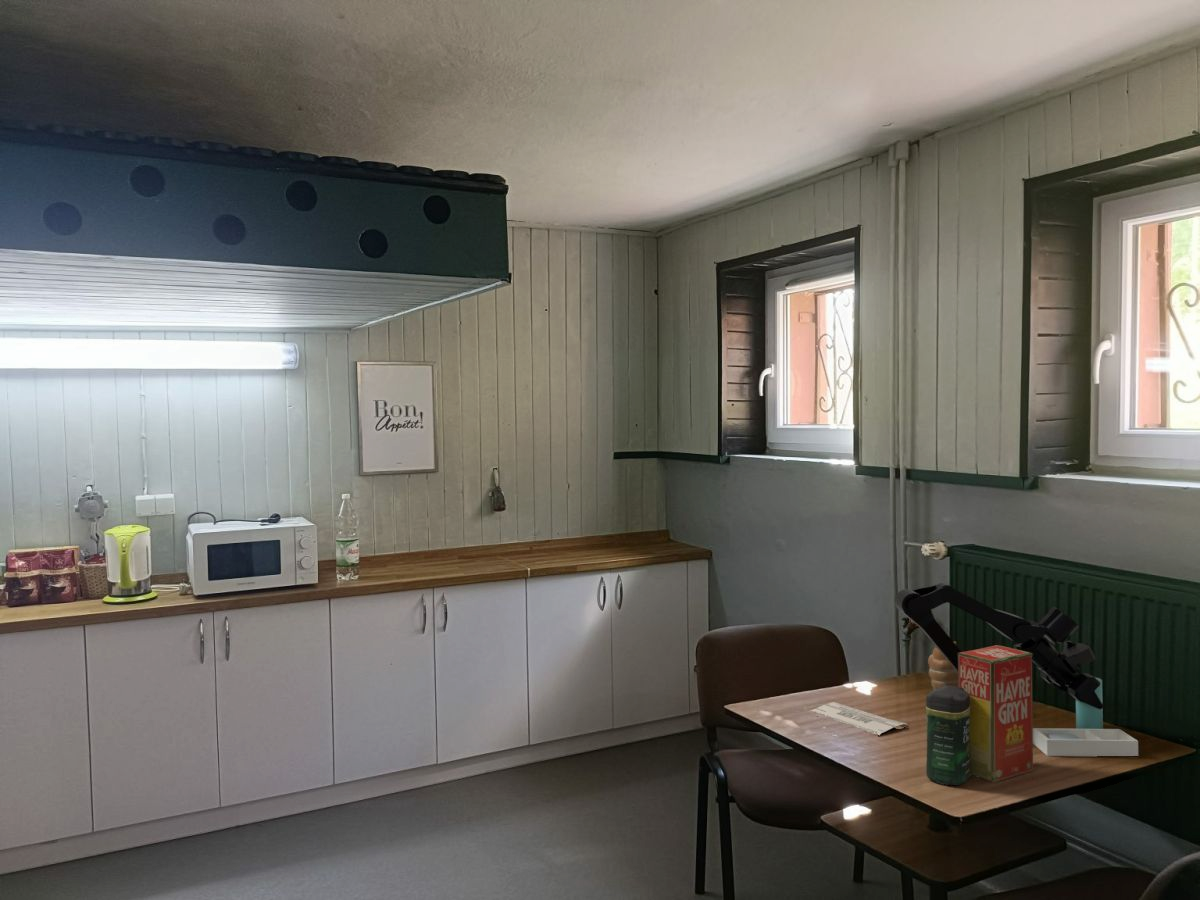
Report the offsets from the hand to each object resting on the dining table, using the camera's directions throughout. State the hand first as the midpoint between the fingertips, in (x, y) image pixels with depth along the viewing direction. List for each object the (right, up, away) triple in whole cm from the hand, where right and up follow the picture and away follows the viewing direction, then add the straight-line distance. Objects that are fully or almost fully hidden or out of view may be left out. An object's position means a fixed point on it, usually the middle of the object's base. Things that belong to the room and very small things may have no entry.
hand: (1095, 704), depth 206 cm
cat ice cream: (-27, -8, +21) cm, 35 cm away
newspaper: (-52, -9, +14) cm, 54 cm away
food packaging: (-33, -8, -21) cm, 40 cm away
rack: (-8, -7, -10) cm, 15 cm away
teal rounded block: (-1, -7, 0) cm, 7 cm away
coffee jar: (-44, -8, -25) cm, 51 cm away
